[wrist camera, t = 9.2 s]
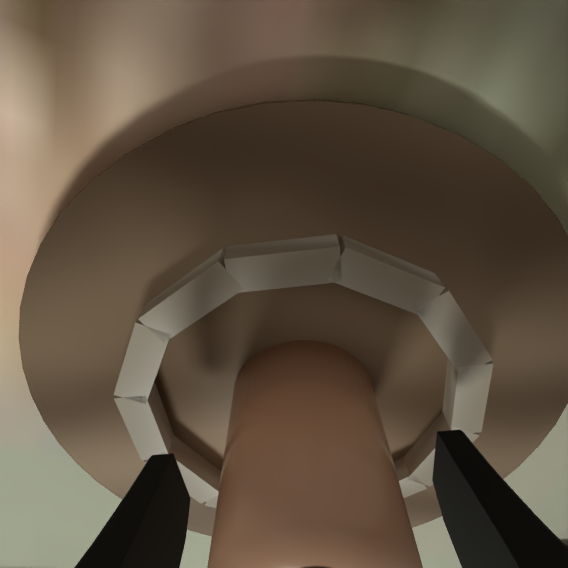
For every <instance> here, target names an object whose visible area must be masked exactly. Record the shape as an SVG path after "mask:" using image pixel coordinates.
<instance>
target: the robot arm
mask: <svg viewBox="0 0 568 568" xmlns="http://www.w3.org/2000/svg"><path fill="white" fill-rule="evenodd" d="M432 481H433V485H434V488H435V492H436V495H437V499H438V503H439V506H440V509H441V513H442V516H443V520H444V522H445V525H446V528H447V530H448V533H449V535H450V538H451V540H452V543H453V546H454V548H455V551H456V553H457V556H458V558H459V561H460V563H461V566H462V568H568V547H567V546H566V545H565V544H564V543H563V542H562V541H561V540H560V539H559V538H558V537H557V536H556V535H555V534H554V533H553V532H552V531H551V530H550V529H549V528H548V527H547V526H546V525H545V524H544V523H543V522H542V521H541V520H540V519H539V518H538V517H537V516H536V515H535V514H534V513H533V512H532V510H531V509H530V508H529V507H528V506H527V505H526V504H525V503H524V502H523V501H522V500H521V499H520V498H519V496H518V495H517V494H516V493H515V492H514V491H513V490H512V489H511V488H510V487H509V485H508V484H507V483H506V482H505V481H504V480H503V479H502V478H501V476H500V475H499V474H498V473H497V472H496V471H495V469H494V468H493V467H492V466H491V465H490V464H489V462H488V461H487V460H486V459H485V458H484V456H483V455H482V454H481V453H480V452H479V450H478V449H477V448H476V447H475V446H474V444H473V443H472V442H471V441H470V439H469V438H468V437H467V436H466V434H465V433H464V432H463V431H462V430H448V431H437V436H436V446H435V456H434V467H433V477H432ZM190 499H191V498H190V496H189V493H188V490H187V488H186V485H185V482H184V480H183V477H182V474H181V472H180V469H179V467H178V464H177V461H176V459H175V456H174V453H171V454H159V455H152V456H151V457H150V458H149V459H148V461H147V463H146V464H145V466H144V467H143V469H142V470H141V472H140V474H139V475H138V477H137V478H136V480H135V481H134V483H133V484H132V486H131V488H130V489H129V491H128V492H127V494H126V495H125V497H124V498H123V500H122V501H121V503H120V504H119V506H118V507H117V509H116V510H115V512H114V513H113V515H112V516H111V518H110V519H109V520H108V522H107V523H106V525H105V526H104V528H103V529H102V531H101V532H100V534H99V535H98V536H97V538H96V539H95V541H94V542H93V543H92V545H91V546H90V548H89V549H88V550H87V552H86V553H85V554H84V556H83V557H82V558H81V560H80V561H79V562H78V564H77V565H76V566H75V568H179V566H180V562H181V557H182V553H183V549H184V544H185V539H186V532H187V525H188V517H189V508H190Z"/></svg>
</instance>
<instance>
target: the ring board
mask: <svg viewBox="0 0 568 568" xmlns="http://www.w3.org/2000/svg"><path fill="white" fill-rule="evenodd" d="M297 340H312V341H320V342H325V343H329V344H332V345H335V346H338V347H340V348H342V349H344V350H346V351H348V352H349V353H351V354H352V355H353V356H355V357H356V358H357V359H358V360H359V361H360V362H361V363H362V364H363V366H364V367H365V369H366V370H367V372H368V374H369V376H370V380H371V383H372V387H373V390H374V394H375V398H376V401H377V405H378V408H379V412H380V415H381V419H382V423H383V426H384V430H385V433H386V437H387V441H388V444H389V448H390V451H391V455H392V459H393V462H394V466H395V469H396V473H397V477H398V480H399V484H400V487H401V491H402V495H403V498H404V502H405V505H406V509H407V513H408V516H409V520H410V523H411V527H415V526H418V525H421V524H424V523H427V522H429V521H431V520H434V519H436V518H438V517H440V516H442V513H441V509H440V506H439V503H438V499H437V495H436V492H435V488H434V485H433V481H432V477H433V467H434V456H435V446H436V436H437V431H448V430H462V431H463V432H464V433H465V434H466V436H467V437H468V438H469V439H470V441H471V442H472V443H473V444H474V446H475V447H476V448H477V449H478V450H479V452H480V453H481V454H482V455H483V456H484V458H485V459H486V460H487V461H488V462H489V464H490V465H491V466H492V467H493V468H494V469H495V471H496V472H497V473H498V474H499V475H500V476H501V478H502V479H504V478H505V477H506V476H508V475H509V474H510V473H511V472H512V471H514V470H515V469H516V468H517V467H519V466H520V465H521V464H522V463H523V462H524V461H525V460H526V458H527V457H528V456H529V455H530V454H531V453H532V452H533V451H534V450H535V449H536V448H537V447H538V446H539V445H540V444H541V442H542V441H543V440H544V438H545V437H546V436H547V435H548V433H549V432H550V431H551V429H552V428H553V427H554V425H555V424H556V423H557V421H558V419H559V417H560V416H561V414H562V412H563V411H564V409H565V407H566V405H567V404H568V236H567V234H566V232H565V231H564V229H563V227H562V225H561V223H560V222H559V220H558V218H557V217H556V215H555V214H554V213H553V212H552V210H551V209H550V208H549V207H548V206H547V204H546V203H545V202H544V201H543V199H542V198H541V197H540V196H539V194H538V193H537V192H536V191H535V190H534V188H533V187H532V186H531V185H529V184H528V183H527V182H526V181H525V180H524V179H522V178H521V177H520V176H519V175H518V174H517V173H515V172H514V171H513V170H512V169H511V168H510V167H508V166H507V165H506V164H505V163H504V162H503V161H501V160H500V159H498V158H497V157H495V156H493V155H492V154H490V153H488V152H487V151H485V150H483V149H482V148H480V147H478V146H477V145H475V144H473V143H472V142H470V141H468V140H467V139H465V138H463V137H462V136H459V135H457V134H455V133H452V132H450V131H448V130H445V129H443V128H440V127H438V126H435V125H433V124H430V123H428V122H425V121H423V120H420V119H418V118H415V117H413V116H410V115H408V114H404V113H400V112H395V111H391V110H387V109H383V108H378V107H374V106H370V105H366V104H361V103H349V102H338V101H326V100H314V99H313V100H295V101H278V102H264V103H259V104H254V105H249V106H244V107H240V108H235V109H230V110H225V111H220V112H216V113H214V114H211V115H208V116H205V117H203V118H200V119H197V120H194V121H192V122H189V123H186V124H183V125H181V126H178V127H175V128H173V129H171V130H169V131H167V132H166V133H164V134H162V135H160V136H158V137H156V138H155V139H153V140H151V141H149V142H147V143H145V144H143V145H142V146H140V147H138V148H136V149H134V150H133V151H131V152H129V153H128V154H126V155H124V156H123V157H122V158H121V159H119V160H118V161H117V162H115V163H114V164H113V165H111V166H110V167H109V168H107V169H106V170H105V171H104V172H102V173H101V174H100V175H98V176H97V177H96V178H94V179H93V180H92V181H91V182H89V183H88V184H87V186H86V187H85V188H84V189H83V190H82V191H81V192H80V193H79V194H78V195H77V196H76V197H75V198H74V199H73V200H72V202H71V203H70V204H69V205H68V206H67V207H66V208H65V209H64V210H63V211H62V212H61V214H60V215H59V217H58V218H57V220H56V221H55V223H54V224H53V226H52V228H51V229H50V231H49V232H48V234H47V235H46V237H45V238H44V240H43V241H42V243H41V245H40V247H39V249H38V252H37V254H36V256H35V259H34V261H33V263H32V266H31V268H30V271H29V273H28V275H27V279H26V283H25V288H24V292H23V297H22V301H21V306H20V322H19V344H20V351H21V359H22V366H23V370H24V374H25V377H26V380H27V383H28V386H29V390H30V393H31V396H32V398H33V400H34V402H35V404H36V406H37V408H38V410H39V412H40V414H41V416H42V418H43V420H44V422H45V423H46V425H47V426H48V428H49V429H50V431H51V432H52V434H53V435H54V437H55V438H56V440H57V441H58V443H59V444H60V445H61V446H62V447H63V448H64V450H65V451H66V452H67V453H68V454H69V455H70V456H71V457H72V459H73V460H74V461H75V462H76V463H77V464H78V465H79V466H80V467H81V468H82V469H84V470H85V471H86V472H87V473H88V474H89V475H90V476H91V477H92V478H94V479H95V480H96V481H97V482H98V483H100V484H101V485H103V486H104V487H105V488H107V489H108V490H109V491H111V492H112V493H114V494H115V495H116V496H118V497H119V498H121V499H123V498H124V497H125V495H126V494H127V492H128V491H129V489H130V488H131V486H132V484H133V483H134V481H135V480H136V478H137V477H138V475H139V474H140V472H141V470H142V469H143V467H144V466H145V464H146V463H147V461H148V459H149V458H150V457H151V456H152V455H159V454H171V453H174V456H175V459H176V461H177V464H178V467H179V469H180V472H181V474H182V477H183V480H184V482H185V485H186V488H187V490H188V493H189V496H190V498H191V499H190V508H189V517H188V525H187V529H188V530H190V531H194V532H198V533H201V534H205V535H209V536H212V534H213V527H214V520H215V513H216V506H217V499H218V493H219V486H220V479H221V472H222V465H223V458H224V452H225V445H226V438H227V431H228V424H229V417H230V410H231V404H232V397H233V390H234V385H235V381H236V378H237V376H238V374H239V372H240V370H241V369H242V367H243V366H244V365H245V364H246V363H247V362H248V361H249V360H250V359H251V358H252V357H253V356H255V355H256V354H258V353H259V352H261V351H263V350H265V349H267V348H269V347H271V346H274V345H277V344H280V343H284V342H289V341H297Z"/></svg>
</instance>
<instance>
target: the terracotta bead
mask: <svg viewBox="0 0 568 568" xmlns="http://www.w3.org/2000/svg"><path fill="white" fill-rule="evenodd" d="M208 568H423V566H422V563H421V559H420V556H419V552H418V549H417V545H416V541H415V538H414V534H413V531H412V527H411V523H410V520H409V516H408V513H407V509H406V505H405V502H404V498H403V495H402V491H401V487H400V484H399V480H398V477H397V473H396V469H395V466H394V462H393V459H392V455H391V451H390V448H389V444H388V441H387V437H386V433H385V430H384V426H383V423H382V419H381V415H380V412H379V408H378V405H377V401H376V398H375V394H374V390H373V387H372V383H371V380H370V376H369V374H368V372H367V370H366V369H365V367H364V366H363V364H362V363H361V362H360V361H359V360H358V359H357V358H356V357H355V356H353V355H352V354H351V353H349V352H348V351H346V350H344V349H342V348H340V347H338V346H335V345H332V344H329V343H325V342H320V341H312V340H297V341H289V342H284V343H280V344H277V345H274V346H271V347H269V348H267V349H265V350H263V351H261V352H259V353H258V354H256V355H255V356H253V357H252V358H251V359H250V360H249V361H248V362H247V363H246V364H245V365H244V366H243V367H242V369H241V370H240V372H239V374H238V376H237V378H236V381H235V385H234V390H233V397H232V404H231V410H230V417H229V424H228V431H227V438H226V445H225V452H224V458H223V465H222V472H221V479H220V486H219V493H218V499H217V506H216V513H215V520H214V527H213V534H212V541H211V547H210V554H209V561H208Z"/></svg>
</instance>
